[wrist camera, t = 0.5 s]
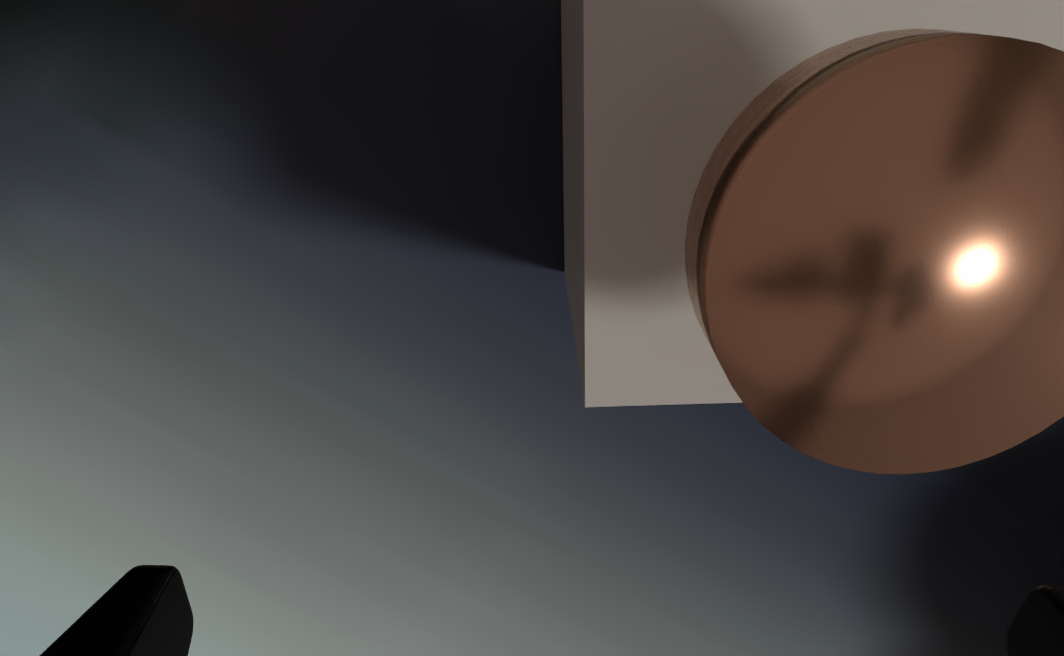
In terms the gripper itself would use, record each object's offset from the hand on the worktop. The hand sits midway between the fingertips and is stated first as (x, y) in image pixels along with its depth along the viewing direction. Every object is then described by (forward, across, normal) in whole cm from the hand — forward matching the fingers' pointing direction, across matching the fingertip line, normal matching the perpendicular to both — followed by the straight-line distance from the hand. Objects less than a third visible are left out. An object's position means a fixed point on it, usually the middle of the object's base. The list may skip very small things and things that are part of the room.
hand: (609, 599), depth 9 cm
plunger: (+10, -4, -1) cm, 11 cm away
